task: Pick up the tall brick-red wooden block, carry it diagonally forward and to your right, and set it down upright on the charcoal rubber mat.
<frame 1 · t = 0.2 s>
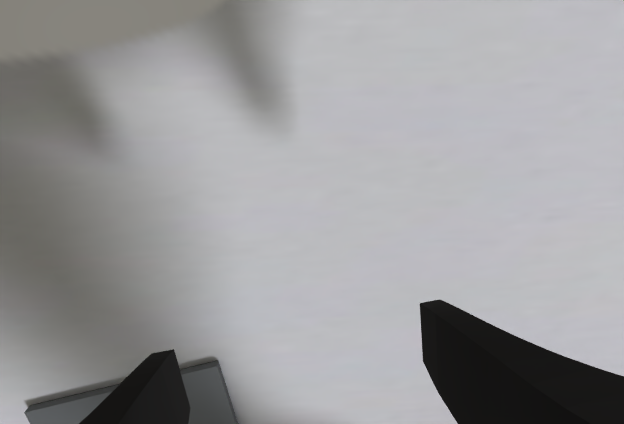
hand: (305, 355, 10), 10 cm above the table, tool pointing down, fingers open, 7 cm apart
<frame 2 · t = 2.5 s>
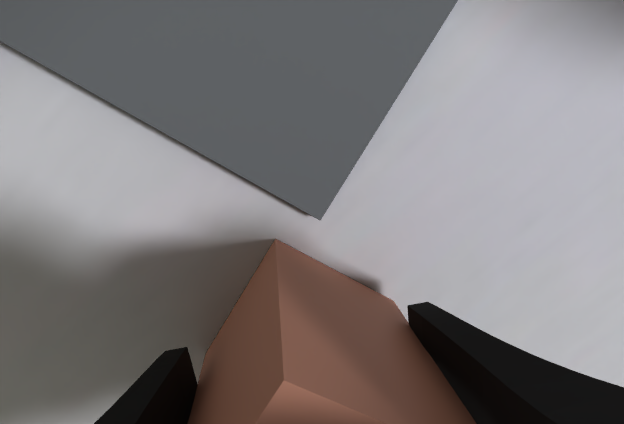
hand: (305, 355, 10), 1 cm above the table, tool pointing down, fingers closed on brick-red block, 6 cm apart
brick-red block: (300, 326, 12), on the table, touching gripper
when the fingers open (3 cm above the table, at t = 6.2 s): brick-red block drops 1 cm, resting on charcoal mat.
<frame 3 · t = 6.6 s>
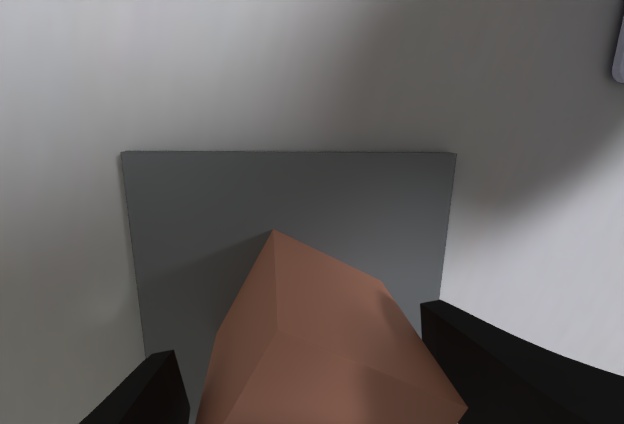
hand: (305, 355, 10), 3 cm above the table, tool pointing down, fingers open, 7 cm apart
brick-red block: (299, 306, 13), resting on charcoal mat
charcoal mat: (296, 297, 14), on the table
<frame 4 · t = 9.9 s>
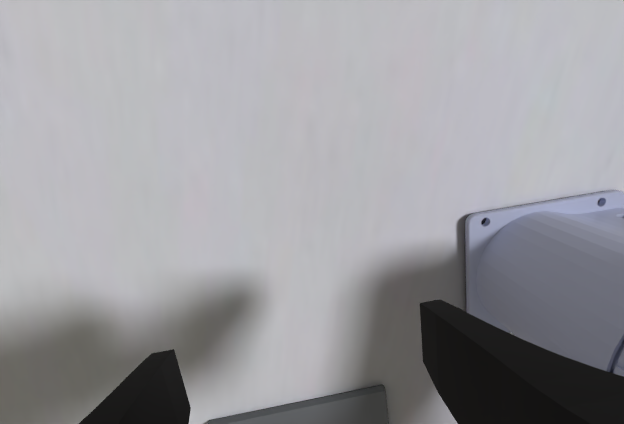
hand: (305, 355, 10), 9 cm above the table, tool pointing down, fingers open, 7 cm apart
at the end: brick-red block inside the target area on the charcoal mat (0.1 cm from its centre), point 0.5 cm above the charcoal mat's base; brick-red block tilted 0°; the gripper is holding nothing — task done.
